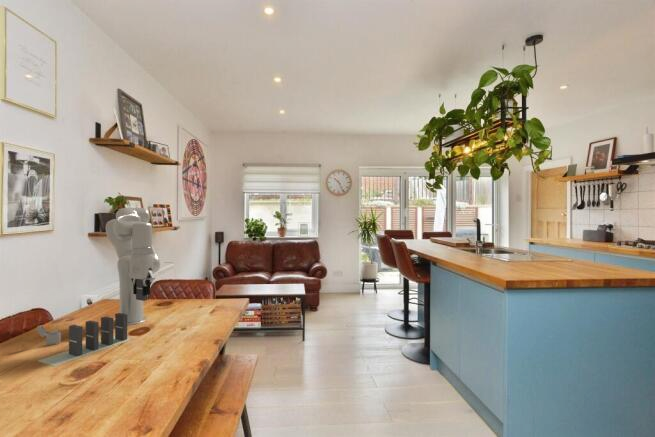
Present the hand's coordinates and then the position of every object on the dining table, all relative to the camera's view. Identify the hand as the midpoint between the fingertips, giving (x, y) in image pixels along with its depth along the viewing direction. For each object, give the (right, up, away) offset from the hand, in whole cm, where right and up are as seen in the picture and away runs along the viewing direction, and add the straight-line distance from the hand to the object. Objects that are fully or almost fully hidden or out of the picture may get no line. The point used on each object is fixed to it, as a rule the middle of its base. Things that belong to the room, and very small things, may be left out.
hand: (141, 293), depth 141 cm
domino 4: (-3, -16, -9) cm, 19 cm away
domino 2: (-8, -16, -19) cm, 26 cm away
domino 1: (-10, -16, -24) cm, 30 cm away
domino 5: (0, -3, 0) cm, 3 cm away
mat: (-9, -17, -19) cm, 27 cm away
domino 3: (-6, -16, -14) cm, 22 cm away
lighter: (-28, -17, -14) cm, 35 cm away
